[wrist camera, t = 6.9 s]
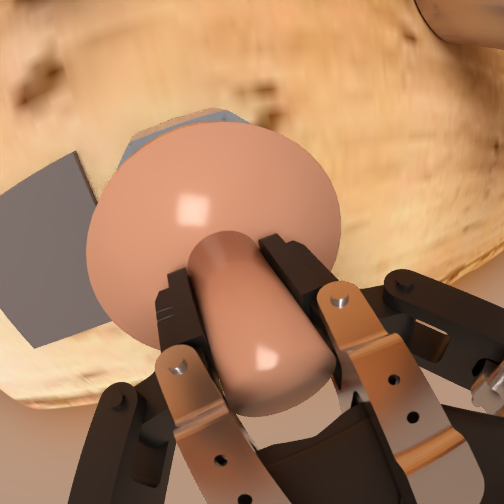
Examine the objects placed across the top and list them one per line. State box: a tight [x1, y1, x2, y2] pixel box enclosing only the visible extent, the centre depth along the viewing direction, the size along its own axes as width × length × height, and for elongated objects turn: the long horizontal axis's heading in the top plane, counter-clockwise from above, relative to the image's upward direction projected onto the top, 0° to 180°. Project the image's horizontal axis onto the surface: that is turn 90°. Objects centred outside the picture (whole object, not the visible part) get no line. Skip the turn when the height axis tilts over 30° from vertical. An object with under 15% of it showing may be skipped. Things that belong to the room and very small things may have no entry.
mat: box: [0, 151, 112, 349], centre depth 16 cm, size 12×12×1 cm
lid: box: [86, 121, 341, 417], centre depth 10 cm, size 11×11×7 cm
